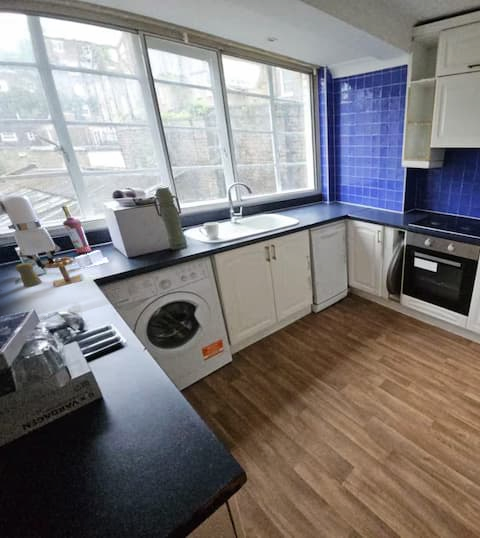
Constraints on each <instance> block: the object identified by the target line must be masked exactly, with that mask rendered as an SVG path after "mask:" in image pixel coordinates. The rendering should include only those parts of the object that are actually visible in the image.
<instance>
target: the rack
mask: <svg viewBox="0 0 480 538" xmlns="http://www.w3.org/2000/svg"><path fill="white" fill-rule="evenodd" d="M59 262H62V260H56V263H59ZM58 269H59V271H60V274H61V276H62V278H61V279H58V280H54V282H53V283H54V287H55V288H58V287H62V286H66V285H70V284H75V283H79V282H82V281H83V278H82V276H81V274H78V275H74V276H70V275H69V272H68V270H67V268H66V266H63V267H58Z"/></svg>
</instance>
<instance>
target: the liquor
mask: <svg viewBox="0 0 480 538" xmlns="http://www.w3.org/2000/svg"><path fill="white" fill-rule="evenodd" d="M61 209H62V211H63V212H64V215H65V219H66V220H64V221H63V222H62V225H63V227H64V228H65V231H66V233H67V234H68V237H69V238H70V240H71V242H72V245H73V246H74V248H75V250H76V254H78V255H85V254H86V253H91V252H92V248H91V246H90V245H89V242H88V240H87V236H86V234H85V231H84V227H83V225H82V222H81V220H79V219H77V218H74V216H73V214H72V213H71V211H70V207H69V205H66V204H65V205H61Z"/></svg>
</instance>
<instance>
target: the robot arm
mask: <svg viewBox="0 0 480 538" xmlns="http://www.w3.org/2000/svg"><path fill="white" fill-rule="evenodd" d="M3 215H7V216H8V218H9V221H10V222H11V225H8V226H7V228H8V229H9V230H14V231H13V236H14V240H15V242H16V245H17V247H19V249H20V254H19V255H18V257H19V258H20V257H22V258H29V259H32V260H34V261H36V263H37V265H38V267H41V269H43V268H44V267H43V262H42V260H41V258H40V257H39V256H38V257H39V258H38V257H37V255H36V254H42V253H45V254H46V260H47V261H49V264H53V263H54V261H53V259H54V258H53V256H54V255H55V254H56V253H58V252H60V251H61V247H60V246H58V245H57V244H56V243H55V242H54V240H53V238H52V237H51V235H50V233H49V232H48V230H47V229H46V228H45V227H44V226H42V224H41V222H40V220H39V218H38V216H37V214H36V212H35V210H34V207H33V205H32V202H31V201H30V199H29V197H28V196H26V195H24V194H16V195H15V194H14V195H6V196H0V216H3ZM44 269H45V268H44Z"/></svg>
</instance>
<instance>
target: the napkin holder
mask: <svg viewBox="0 0 480 538" xmlns="http://www.w3.org/2000/svg"><path fill="white" fill-rule="evenodd" d="M74 261H75V263H76V264H77V265H78V267H85V268H91V267H94V266H99V265H102V264H107V263H110V261H109V259H108V258H107V257H106V256H105V257H104V255H103V252H102V251H101V249H96V250H93V251H90V252H89V253H87V254H80V255H79V256H76V257H74Z"/></svg>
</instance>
